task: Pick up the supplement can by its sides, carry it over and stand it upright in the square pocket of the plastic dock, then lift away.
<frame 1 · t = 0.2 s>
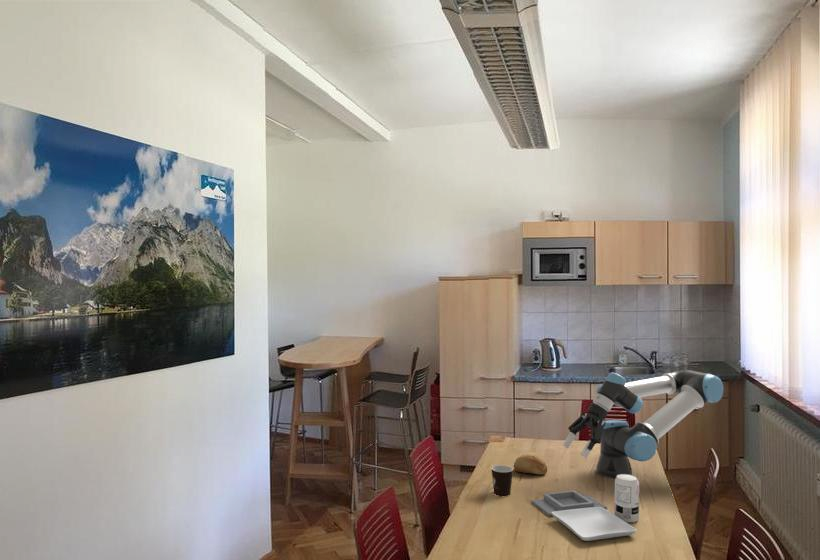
hand: (574, 451, 243), 16 cm above the table, tool tilted 35°, fingers open, 13 cm apart
coffee mug: (502, 492, 241), on the table
bread roll: (530, 473, 264), on the table
dock: (568, 506, 227), on the table
salad plate: (592, 530, 207), on the table
supplement can: (626, 519, 215), on the table
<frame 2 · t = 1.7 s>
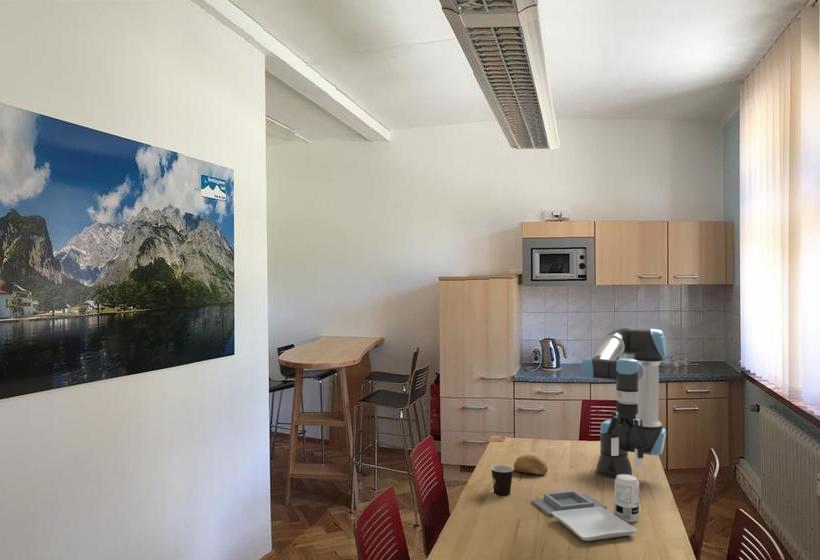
hand: (626, 461, 215), 21 cm above the table, tool pointing down, fingers open, 13 cm apart
nothing on the table moved.
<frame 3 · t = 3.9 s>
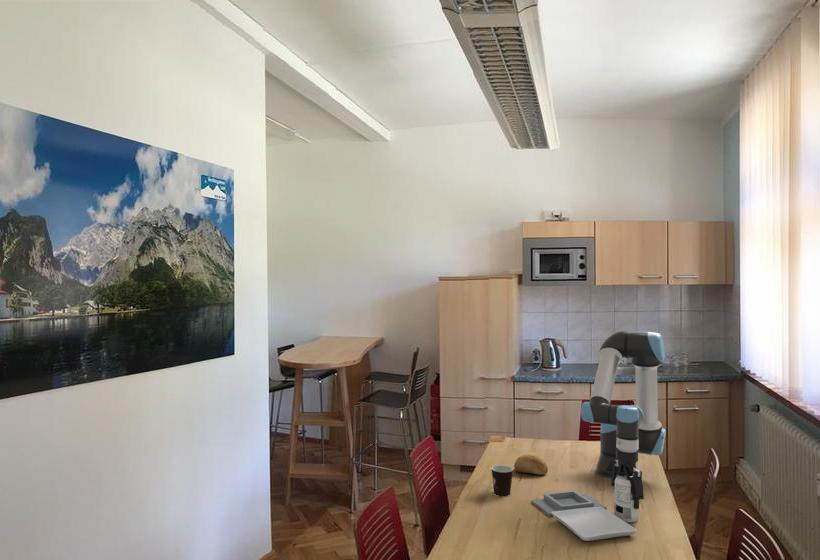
hand: (626, 512, 215), 2 cm above the table, tool pointing down, fingers closed on supplement can, 8 cm apart
supplement can: (626, 519, 215), on the table, touching gripper
everything else where it was.
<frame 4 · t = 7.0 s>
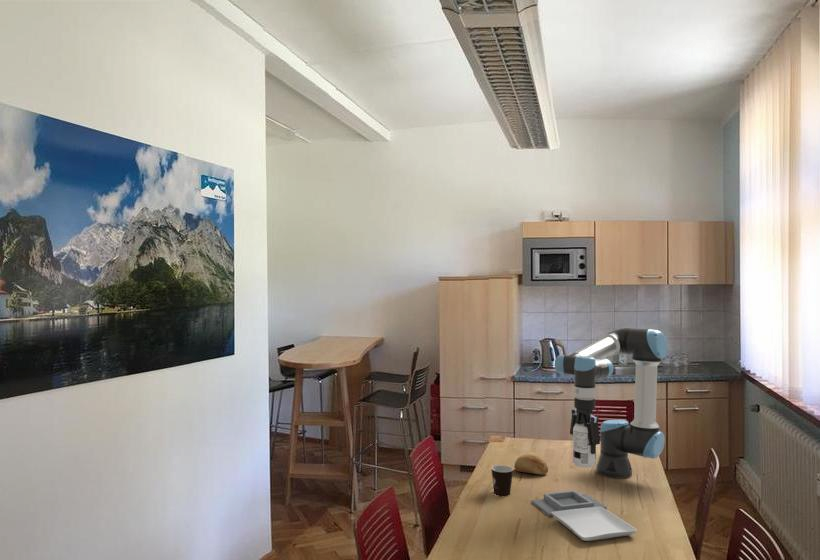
hand: (584, 458, 223), 19 cm above the table, tool pointing down, fingers closed on supplement can, 8 cm apart
supplement can: (584, 465, 223), point 17 cm above the table, touching gripper
everything else where it was.
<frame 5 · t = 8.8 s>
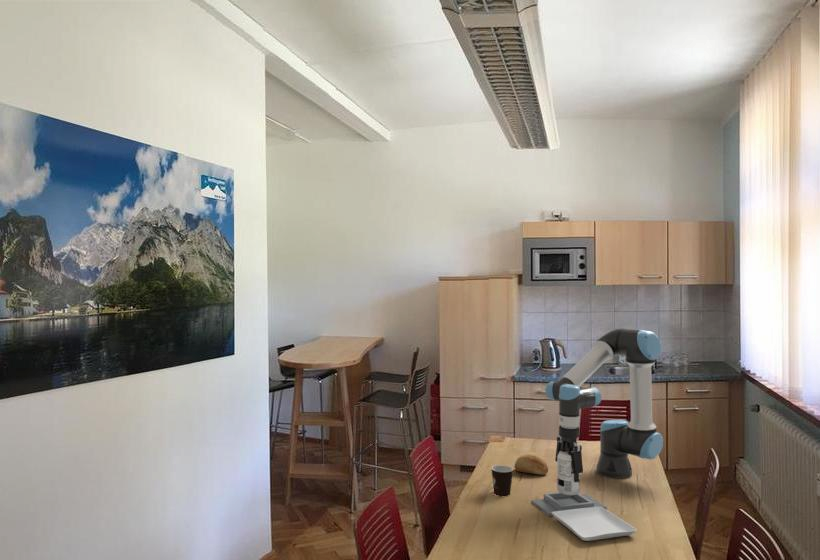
hand: (568, 485, 227), 8 cm above the table, tool pointing down, fingers closed on supplement can, 8 cm apart
supplement can: (568, 492, 227), point 5 cm above the table, touching gripper
everything else where it was.
when the fingers open (4 cm above the table, at t = 10.0 s): supplement can stays where it is, resting on dock.
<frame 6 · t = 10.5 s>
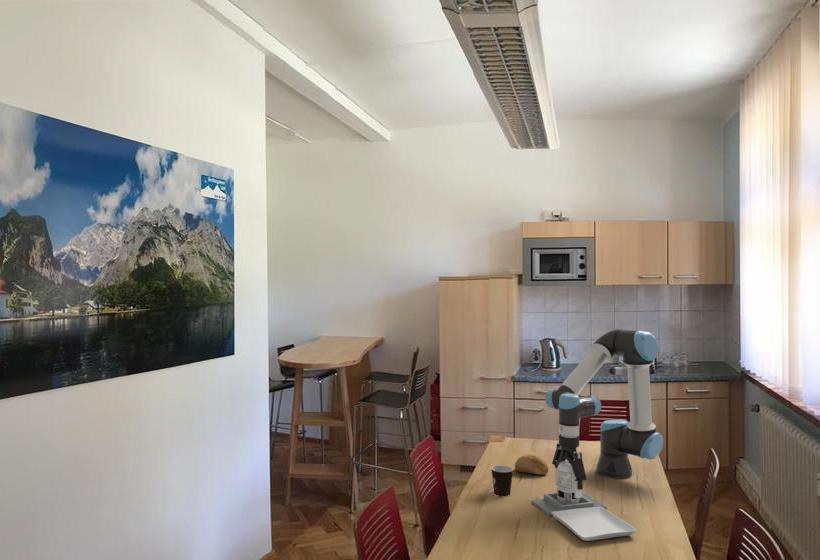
hand: (568, 491, 227), 6 cm above the table, tool pointing down, fingers open, 13 cm apart
supplement can: (568, 503, 227), point 1 cm above the table, touching dock
everything else where it was.
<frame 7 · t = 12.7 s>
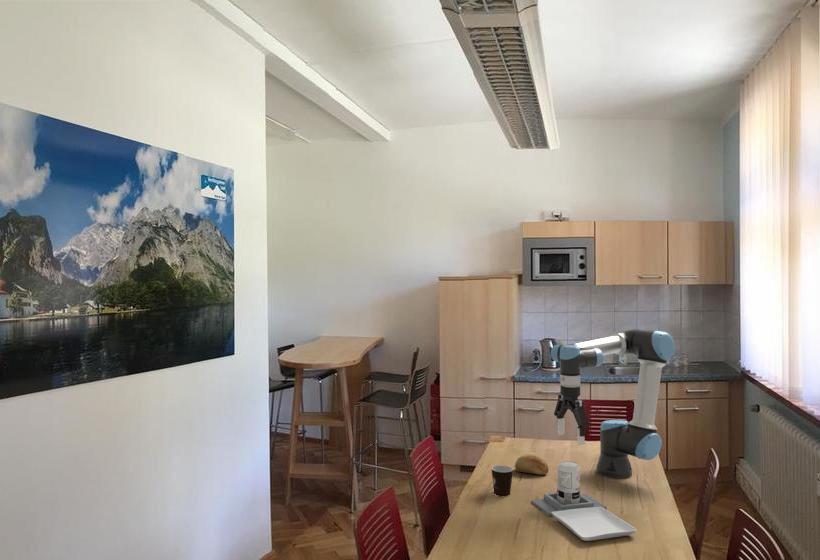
hand: (570, 439, 233), 23 cm above the table, tool pointing down, fingers open, 13 cm apart
nothing on the table moved.
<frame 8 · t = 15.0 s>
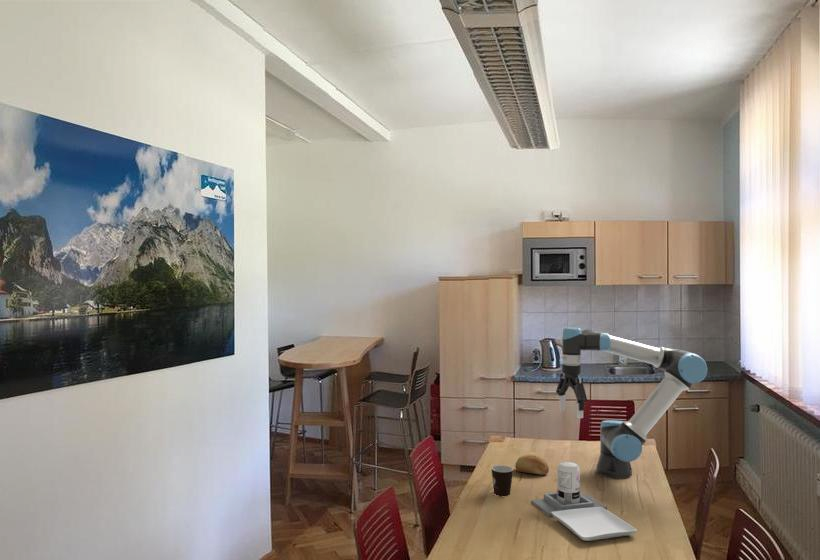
hand: (570, 414, 253), 29 cm above the table, tool pointing down, fingers open, 13 cm apart
nothing on the table moved.
at the end: supplement can 0.0 cm off-centre on the dock, point 0.8 cm above the dock's base; supplement can tilted 0°; the gripper is holding nothing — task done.
